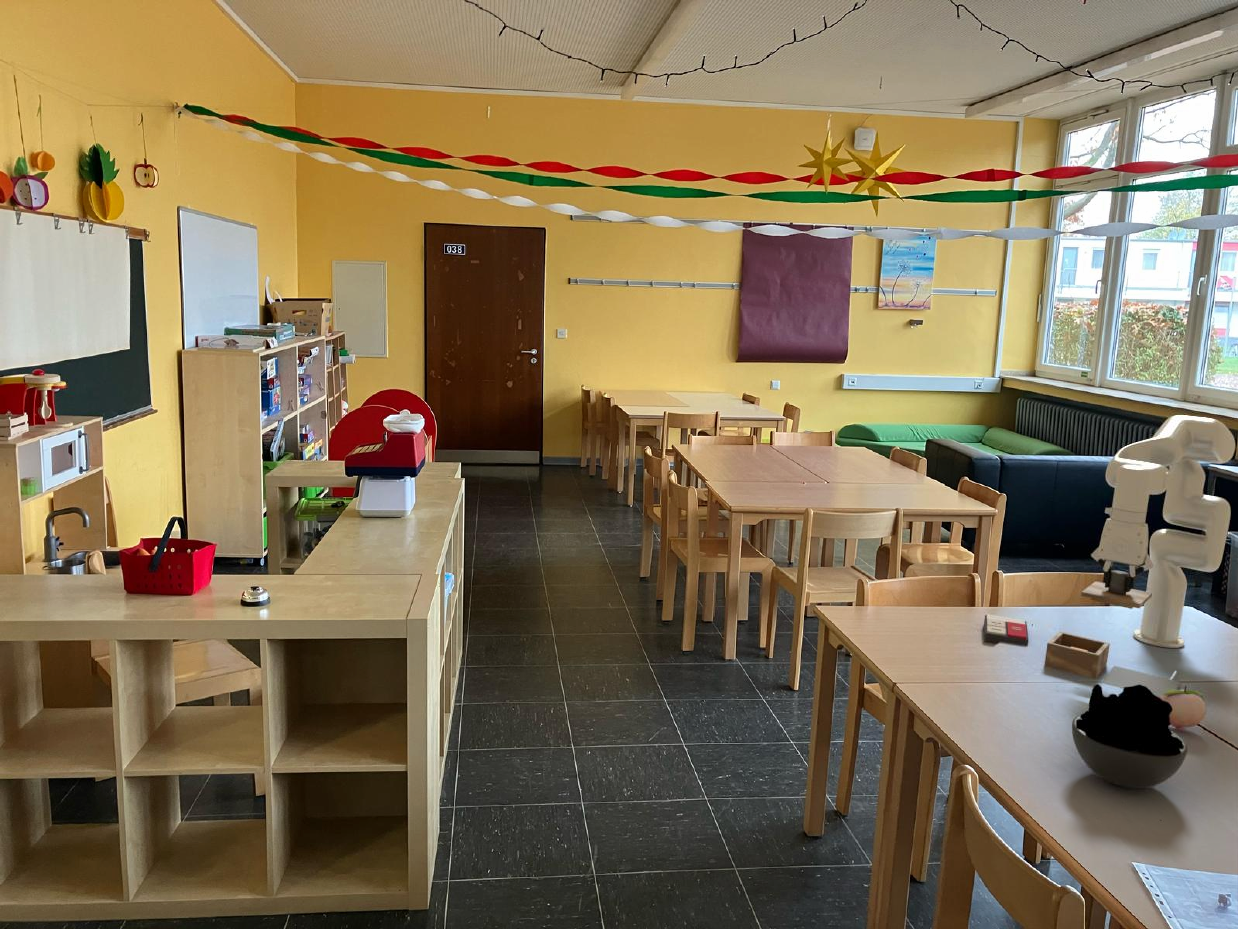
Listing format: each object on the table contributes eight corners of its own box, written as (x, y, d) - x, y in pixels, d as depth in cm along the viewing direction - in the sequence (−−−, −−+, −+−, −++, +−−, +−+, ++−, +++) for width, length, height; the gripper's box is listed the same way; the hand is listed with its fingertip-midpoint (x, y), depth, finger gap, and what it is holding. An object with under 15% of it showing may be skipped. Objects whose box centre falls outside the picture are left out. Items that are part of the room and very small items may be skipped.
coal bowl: (1191, 783, 195) (1206, 692, 192) (1164, 820, 180) (1180, 722, 177) (1084, 748, 208) (1096, 662, 205) (1051, 780, 193) (1063, 688, 190)
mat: (1113, 669, 255) (1114, 665, 255) (1179, 686, 246) (1180, 682, 246) (1100, 686, 243) (1100, 682, 243) (1168, 704, 234) (1169, 700, 234)
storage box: (1056, 657, 262) (1059, 631, 260) (1105, 669, 255) (1109, 643, 253) (1043, 669, 252) (1047, 643, 251) (1094, 682, 245) (1098, 655, 244)
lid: (1094, 588, 255) (1098, 562, 254) (1150, 600, 247) (1155, 573, 246) (1080, 599, 245) (1084, 572, 244) (1138, 612, 237) (1142, 584, 236)
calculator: (985, 630, 270) (985, 612, 283) (983, 645, 270) (983, 626, 284) (1029, 637, 266) (1026, 618, 280) (1027, 652, 267) (1024, 632, 281)
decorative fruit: (1177, 739, 215) (1184, 695, 213) (1148, 723, 223) (1155, 680, 221) (1212, 736, 218) (1219, 693, 216) (1182, 720, 225) (1189, 678, 223)
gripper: (1087, 512, 244) (1077, 584, 248) (1163, 525, 234) (1151, 600, 237) (1095, 507, 250) (1085, 578, 253) (1170, 520, 240) (1158, 593, 243)
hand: (1117, 588), depth 245 cm, fingers closed on lid, 4 cm apart
